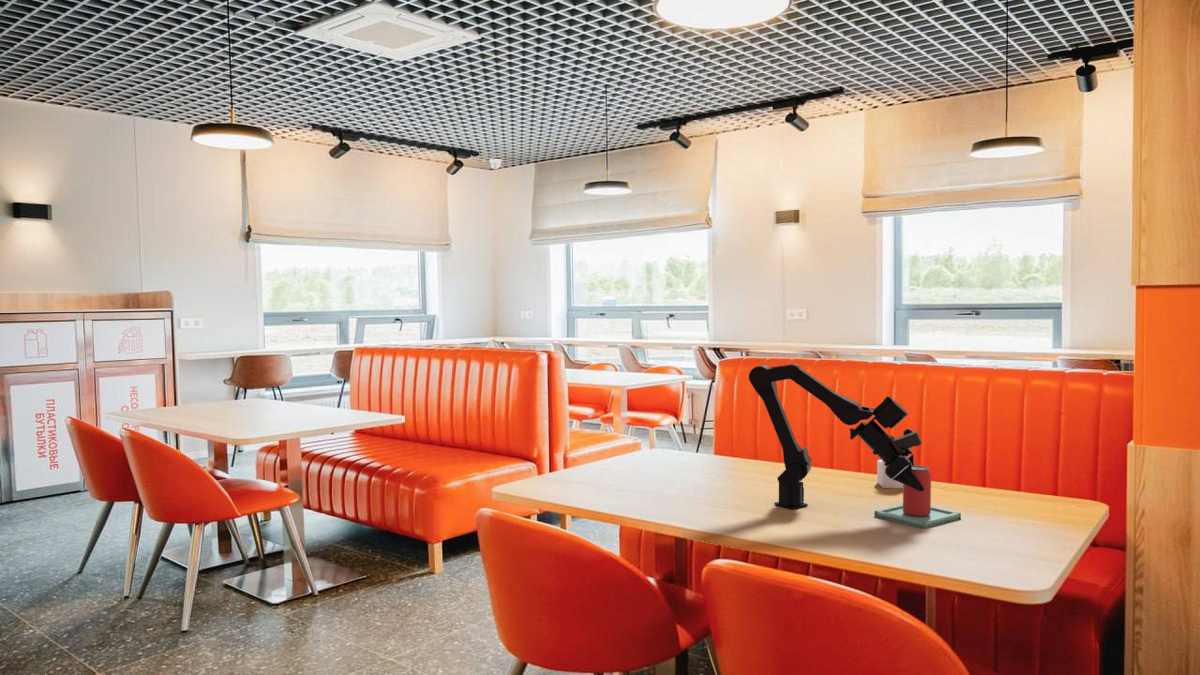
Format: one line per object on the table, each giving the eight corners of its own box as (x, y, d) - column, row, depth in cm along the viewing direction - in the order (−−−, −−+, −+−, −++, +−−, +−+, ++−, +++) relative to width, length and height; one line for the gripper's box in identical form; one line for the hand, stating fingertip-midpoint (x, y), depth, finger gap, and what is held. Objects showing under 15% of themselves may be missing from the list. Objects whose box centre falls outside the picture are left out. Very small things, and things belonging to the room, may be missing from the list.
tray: (923, 528, 198) (923, 522, 198) (874, 516, 210) (874, 510, 210) (960, 518, 207) (960, 513, 207) (911, 507, 219) (911, 502, 219)
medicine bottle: (901, 483, 248) (901, 444, 247) (907, 488, 241) (908, 448, 240) (876, 482, 249) (877, 443, 248) (882, 488, 242) (883, 447, 241)
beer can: (924, 519, 204) (925, 471, 204) (898, 514, 208) (899, 467, 208) (934, 513, 209) (935, 467, 208) (908, 509, 213) (909, 463, 213)
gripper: (900, 425, 201) (948, 473, 197) (904, 415, 218) (948, 459, 214) (866, 454, 204) (912, 502, 200) (872, 442, 221) (915, 486, 217)
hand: (923, 486), depth 208 cm, fingers open, 9 cm apart
